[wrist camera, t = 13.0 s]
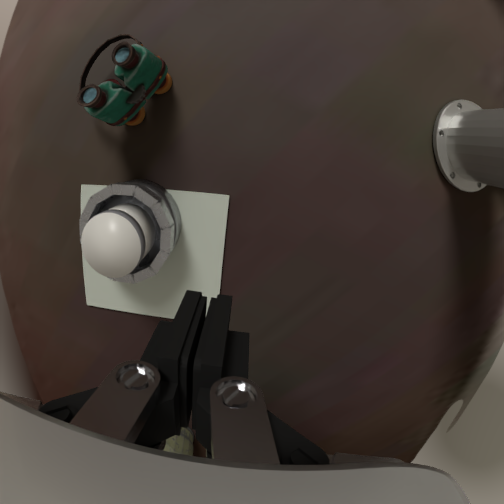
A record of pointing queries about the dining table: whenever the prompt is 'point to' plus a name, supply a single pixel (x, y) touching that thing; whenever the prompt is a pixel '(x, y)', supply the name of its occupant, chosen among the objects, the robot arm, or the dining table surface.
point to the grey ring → (160, 212)
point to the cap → (118, 239)
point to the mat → (170, 260)
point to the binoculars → (135, 78)
